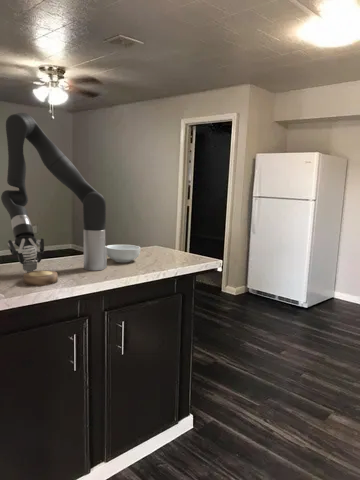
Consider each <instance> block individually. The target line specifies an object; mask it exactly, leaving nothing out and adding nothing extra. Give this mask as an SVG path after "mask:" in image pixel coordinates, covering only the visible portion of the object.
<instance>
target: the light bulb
mask: <svg viewBox="0 0 360 480" xmlns="http://www.w3.org/2000/svg"><path fill="white" fill-rule="evenodd" d="M23 248H24V250H23V249H22V252H21V253H22V255H23V259H24V263H23V264H22V269H23V271H25V272H26V273H27V272H31V271H37V268H38V262H37V258H36V257H37V252H36V251H37V249H36V248H35V247H34V246H25V247H23Z"/></svg>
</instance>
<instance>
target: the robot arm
mask: <svg viewBox="0 0 360 480" xmlns="http://www.w3.org/2000/svg"><path fill="white" fill-rule="evenodd" d="M6 118H7V119H6V122H5V133H6V141H7V142H6V143H7V155H8V156H7V157H8V159H7V177H6V183H7V184H8V186H11V187H13V188H18V190H16V189H15V190H11V189H8V190H4V191H3V192H2V193H1V196H0V199H1V200H0V201H1V203H2V205H3V207H4V208H5V210H6V211H7V213H8V215H9V217H10V222H11V230H12V232H13V236H14V237H13V238H14V240H11V239H9V240H8V241H7V246H8V249H9V251H10V253H11V256H13V257H14V256H15V257H16V256H17V259H18V262H19V264H21V265H23V263H24V259H23V258H24V257H23V255H24V254H22V253H23V251H22V250H24V248H23V247H25V246H34V247H35V248H36V249H37V251H36V252H37V257H36V258H37V259H36V262H37V264H38V263H41V261H42V256H41V255H43V254H44V251H45V241H44V240H45V239H44V238H40V239H37V238H36V236H35V233H34V230H33V225H32V222H31V220H30V216H29V213H28V209H27V208H26V206H27V204H28V202H29V197H28V193H27V188H26V173H27V166H26V159H25V155H24V145H25V140H27V141H28V142H29V143H30V144H31V145H32V146H33V147H34V149H35V150H36V151H37V153H38V156H39V157H40V159H41V161H42V163H43V165H44V166H45V167H46V170H48V171H49V172H50V173H51V174H52V175H53V177H55V178H56V180H58V181H59V182H60V183H61V184H63V185H64V186H65V187H66V188H67V189H69V190H70V191H71V192H73V194H74V195H75V196H76V197H77V198H78V199H79V201H80V202H81V203H82V205H83V206H82V211H83V212H82V213H83V214H82V216H83V217H82V218H83V219H82V221H83V270H87V271H102V270H105V269H106V268H107V267H108V266H107V265H108V262H107V261H108V260H107V259H108V256H107V247H106V246H107V245H106V224H107V223H106V221H107V220H106V216H107V214H106V213H107V212H106V211H107V206H106V205H107V202H106V199H105V197H104V196H103V194H101V192H99V191H98V190H96V189H95V188H94V187H93V186H92V185H91V184H89V182H88V181H86V179H85V178H84V176H83V175H82V173H81V172H80V171H79V170H78V168H77V167H76V166H75V165H74V164H73V162H72V161H71V160H70V159H69V158H68V157H67V156H66V154H64V153H63V151H61V149H59V147H58V146H57V145H56V144H55V143H54V141H52V140H51V139H50V138H49V137H48V135H47V134H46V133H45V132H44V131H43V129H42V128H41V127H40V126H39V124H38V123H37V122H36V120H35V119H34V118H33V117H32V116H31V115H30V114H28V113H26V112H17V113H12V114H10V115H9V116H8V117H6ZM37 244H38V246H39V247H38V246H37ZM15 245H16V246H17V247H18V250H16V247H15Z"/></svg>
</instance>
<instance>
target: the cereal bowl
mask: <svg viewBox="0 0 360 480" xmlns="http://www.w3.org/2000/svg"><path fill="white" fill-rule="evenodd" d="M105 246H106V247H107V258H109V259H110V260H113V261H114V262H116V263H131V262H132V261H134V260H135V259H137V258H139V256H140V254H141V246H139V245H134V244H108V245H105Z"/></svg>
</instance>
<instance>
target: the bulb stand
mask: <svg viewBox="0 0 360 480" xmlns="http://www.w3.org/2000/svg"><path fill="white" fill-rule="evenodd" d="M22 277H23V284H24V285H25V286H30V287H31V286H33V287H42V286H43V287H44V286H51V285H54V284H57V283H58V272H57V271H54V270H44V269H43V270H42V269H41V270H33V271H31V272H27V271H26V272H25V273H24V274H23V276H22Z"/></svg>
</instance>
